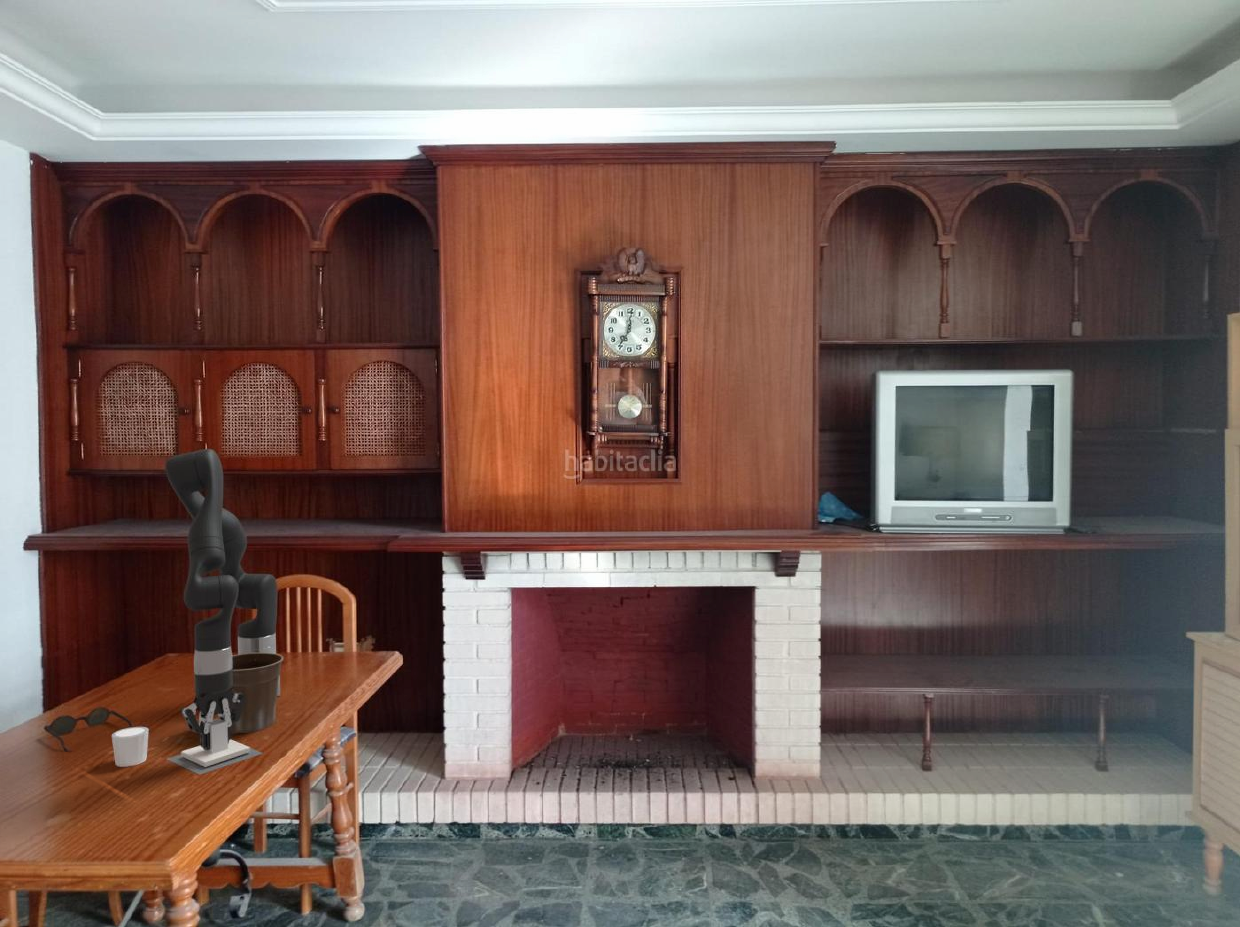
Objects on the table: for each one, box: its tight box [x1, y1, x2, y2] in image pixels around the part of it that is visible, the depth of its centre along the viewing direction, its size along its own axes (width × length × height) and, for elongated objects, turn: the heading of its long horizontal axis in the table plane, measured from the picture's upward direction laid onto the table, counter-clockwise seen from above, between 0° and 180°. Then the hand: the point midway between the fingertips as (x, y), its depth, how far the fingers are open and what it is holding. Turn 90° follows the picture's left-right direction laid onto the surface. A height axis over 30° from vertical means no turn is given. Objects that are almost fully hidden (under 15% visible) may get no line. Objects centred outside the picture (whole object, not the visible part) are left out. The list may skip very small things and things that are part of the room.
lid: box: [180, 717, 251, 767], centre depth 181 cm, size 10×10×7 cm
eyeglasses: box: [43, 706, 133, 753], centre depth 195 cm, size 15×15×5 cm
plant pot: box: [218, 653, 284, 735], centre depth 201 cm, size 16×16×16 cm
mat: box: [166, 747, 264, 776], centre depth 181 cm, size 14×14×1 cm
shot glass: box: [111, 726, 150, 768], centre depth 179 cm, size 7×7×7 cm
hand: (215, 745), depth 181 cm, fingers closed on lid, 3 cm apart
